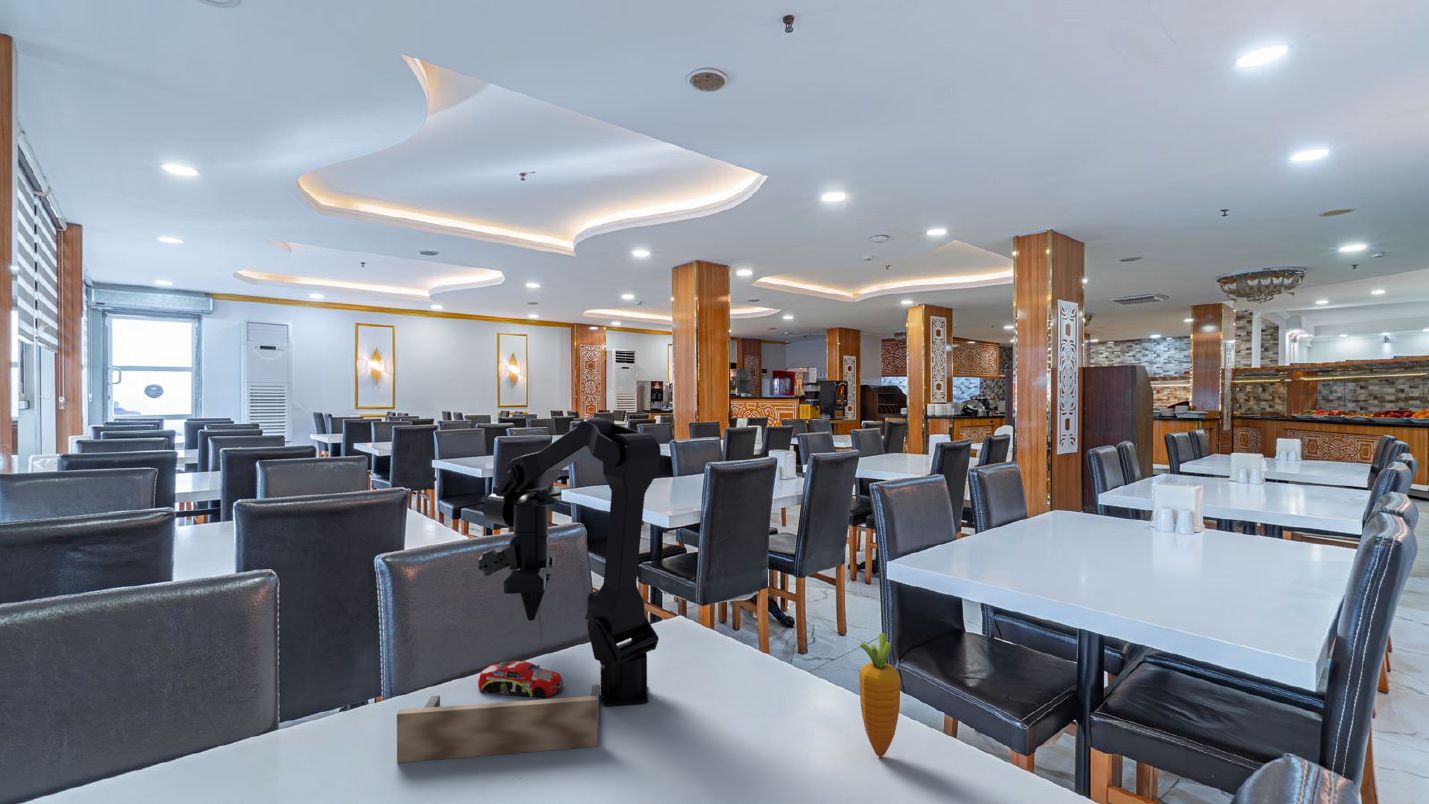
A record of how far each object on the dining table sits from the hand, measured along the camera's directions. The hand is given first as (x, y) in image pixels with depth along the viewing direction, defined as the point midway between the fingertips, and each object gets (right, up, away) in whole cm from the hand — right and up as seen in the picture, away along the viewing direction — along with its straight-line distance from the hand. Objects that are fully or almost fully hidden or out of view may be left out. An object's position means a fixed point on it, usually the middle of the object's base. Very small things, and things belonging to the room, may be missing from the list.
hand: (531, 620), depth 112 cm
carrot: (+52, -7, -31) cm, 61 cm away
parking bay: (+3, -7, -24) cm, 25 cm away
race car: (+2, -7, -12) cm, 14 cm away
